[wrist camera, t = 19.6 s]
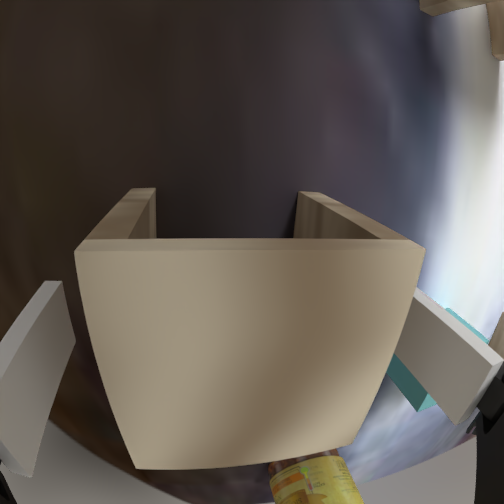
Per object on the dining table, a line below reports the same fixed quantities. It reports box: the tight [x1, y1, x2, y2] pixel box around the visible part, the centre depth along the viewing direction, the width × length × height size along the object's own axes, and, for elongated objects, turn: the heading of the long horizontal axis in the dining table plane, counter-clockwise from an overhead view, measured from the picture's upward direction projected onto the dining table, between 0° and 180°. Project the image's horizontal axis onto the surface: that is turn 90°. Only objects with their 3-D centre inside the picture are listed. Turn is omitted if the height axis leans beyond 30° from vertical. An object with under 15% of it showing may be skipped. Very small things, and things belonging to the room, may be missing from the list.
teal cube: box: [386, 308, 489, 412], centre depth 17 cm, size 4×4×4 cm
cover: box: [74, 188, 426, 470], centre depth 11 cm, size 8×8×7 cm
